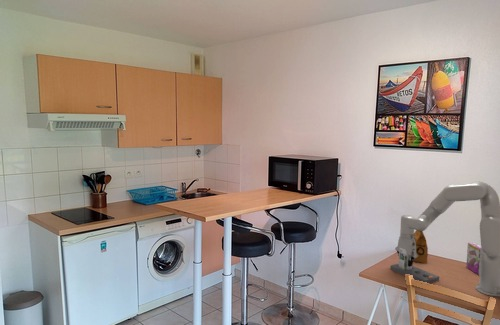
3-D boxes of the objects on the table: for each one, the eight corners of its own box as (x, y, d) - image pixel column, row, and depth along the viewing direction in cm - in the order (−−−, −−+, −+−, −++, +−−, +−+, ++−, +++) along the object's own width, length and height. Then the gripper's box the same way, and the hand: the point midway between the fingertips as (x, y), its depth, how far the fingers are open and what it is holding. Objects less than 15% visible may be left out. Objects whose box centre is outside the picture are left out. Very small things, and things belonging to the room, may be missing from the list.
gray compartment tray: (439, 280, 194) (439, 275, 194) (424, 285, 189) (425, 279, 189) (403, 265, 216) (404, 260, 215) (390, 269, 210) (390, 264, 210)
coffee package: (411, 262, 222) (413, 229, 220) (409, 255, 234) (411, 224, 232) (428, 264, 219) (430, 231, 217) (425, 257, 230) (427, 225, 228)
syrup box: (397, 269, 209) (398, 247, 208) (405, 268, 211) (406, 246, 210) (405, 273, 204) (406, 250, 203) (412, 272, 206) (413, 249, 205)
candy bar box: (465, 267, 213) (467, 242, 212) (473, 267, 213) (475, 242, 212) (477, 275, 202) (479, 248, 200) (486, 275, 202) (488, 248, 200)
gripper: (423, 238, 199) (422, 268, 201) (399, 231, 215) (398, 258, 217) (415, 240, 196) (413, 270, 198) (391, 232, 212) (389, 260, 213)
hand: (405, 263), depth 207 cm, fingers closed on syrup box, 6 cm apart
